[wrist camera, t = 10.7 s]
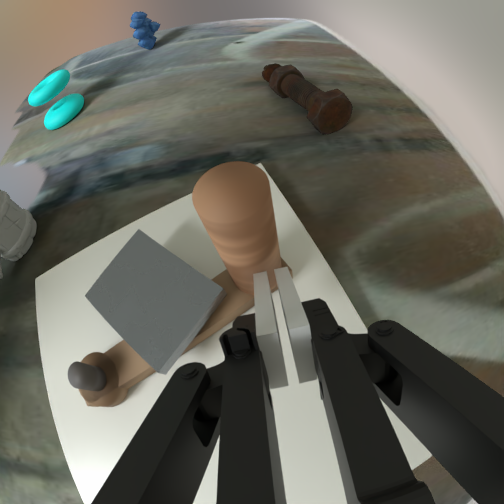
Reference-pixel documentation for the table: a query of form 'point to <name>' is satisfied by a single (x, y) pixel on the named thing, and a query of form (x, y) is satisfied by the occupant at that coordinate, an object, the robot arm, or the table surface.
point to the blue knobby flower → (144, 29)
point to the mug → (14, 229)
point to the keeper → (154, 300)
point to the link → (231, 280)
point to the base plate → (192, 357)
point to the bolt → (310, 97)
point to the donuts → (62, 108)
